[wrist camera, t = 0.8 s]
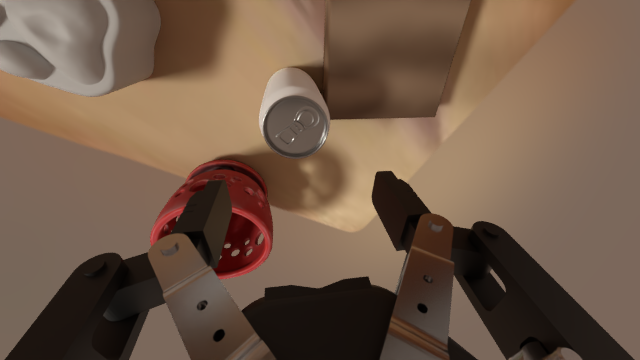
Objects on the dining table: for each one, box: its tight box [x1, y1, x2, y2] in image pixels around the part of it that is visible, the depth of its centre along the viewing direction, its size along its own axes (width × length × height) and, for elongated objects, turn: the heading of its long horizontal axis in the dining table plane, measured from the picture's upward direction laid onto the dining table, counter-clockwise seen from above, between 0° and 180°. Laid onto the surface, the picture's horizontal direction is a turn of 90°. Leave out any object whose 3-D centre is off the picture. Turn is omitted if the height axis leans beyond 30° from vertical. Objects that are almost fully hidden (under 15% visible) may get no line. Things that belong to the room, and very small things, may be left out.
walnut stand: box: [323, 0, 471, 120], centre depth 26 cm, size 14×14×4 cm
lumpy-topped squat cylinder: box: [0, 0, 161, 97], centre depth 19 cm, size 10×13×9 cm
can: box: [259, 67, 330, 159], centre depth 24 cm, size 6×6×12 cm
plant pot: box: [150, 160, 273, 279], centre depth 31 cm, size 13×13×12 cm
